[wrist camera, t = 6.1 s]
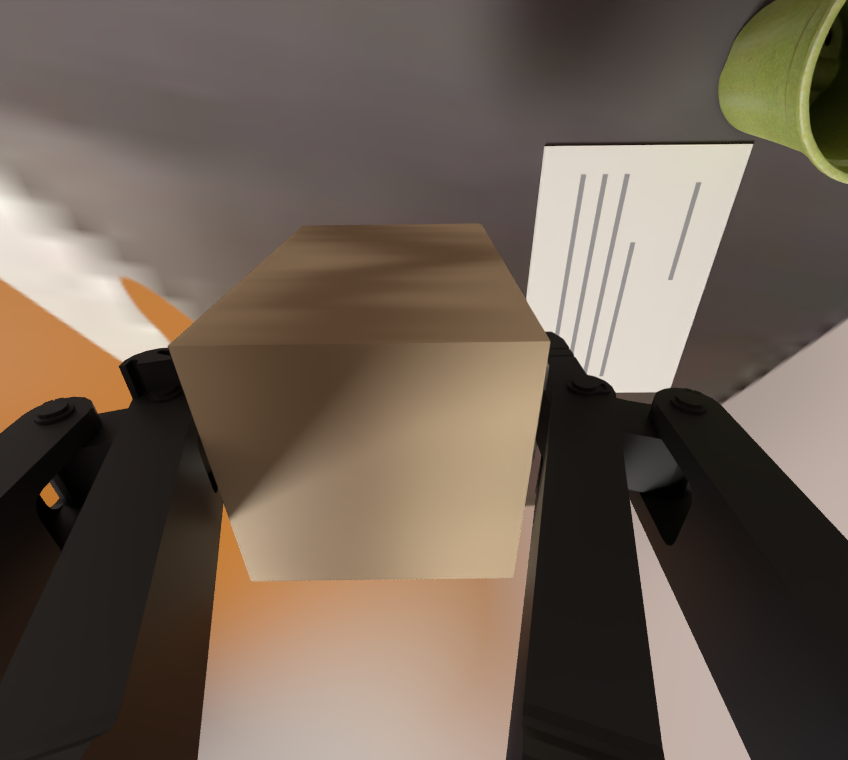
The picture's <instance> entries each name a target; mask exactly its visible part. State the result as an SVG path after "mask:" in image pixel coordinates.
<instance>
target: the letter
mask: <svg viewBox="0 0 848 760" xmlns="http://www.w3.org/2000/svg"><path fill="white" fill-rule="evenodd" d="M752 147H753V144H697V145H606V146H544V153H543V161H542V170H541V178H540V187H539V195H538V203H537V212H536V220H535V228H534V237H533V245H532V254H531V262H530V270H529V279H528V287H527V296H526V301H527V302H528V304H529V306H530V307H531V309H532V311H533V312H534V314H535V316H536V318H537V319H538V321H539V323H540V324H541V326H542V328H543V329H544V331H545V332H553V333H555V334H556V335H558V336H560V337H561V338H563V339H564V340H565V342H566V343H567V345H568V346H569V349H571V351H572V353H573V354H574V357H576V359H577V360H578V362H579V363H580V365H581V366H582V368H583V369H584V371H585V372H586V374H587V375H591V376H595V377H598V378H600V379H602V380H604V381H606V382H607V383H609V384H610V385H611V386H612V387H613V389H614V391H615V392H658V391H660V390H662V389H666V388H670V387H671V385H672V382H673V379H674V376H675V373H676V370H677V367H678V364H679V361H680V358H681V355H682V352H683V349H684V346H685V343H686V340H687V338H688V335H689V332H690V329H691V326H692V323H693V320H694V317H695V314H696V311H697V308H698V305H699V302H700V299H701V296H702V293H703V291H704V288H705V285H706V282H707V279H708V276H709V273H710V270H711V267H712V264H713V261H714V258H715V255H716V252H717V249H718V246H719V244H720V241H721V238H722V235H723V232H724V229H725V226H726V223H727V220H728V217H729V214H730V211H731V208H732V205H733V202H734V199H735V197H736V194H737V191H738V188H739V185H740V182H741V179H742V176H743V173H744V170H745V167H746V164H747V161H748V158H749V155H750V153H751V150H752Z"/></svg>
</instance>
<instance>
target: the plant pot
mask: <svg viewBox="0 0 848 760" xmlns="http://www.w3.org/2000/svg"><path fill="white" fill-rule="evenodd" d="M829 30H831V36H832V39H831V41H830V44H829V45H828V46H825V42H824V41H825V39H826V36H827V34H828V32H829ZM718 94H719V103H720V108H721V110H722V112H723V115H724V116H725V118H726V119H727V121H728V122H729V123H730V124H731V125H732V126H733V127H735V128H736V129H738V130H740V131H742V132H745V133H748V134H751V135H754V136H757V137H760V138H763V139H767V140H770V141H773V142H776V143H779V144H782V145H784V146H787V147H790V148H792V149H795V150H798V151H800V152H803V153H804V154H805V155H806V156H807V157H808V158H809V159H810V161H811V162H812V163H813V164H814V165H815V166H816V167H817V168H818V169H819V170H820V171H821V172H822V173H824V174H826V175H827V176H829V177H830V178H832V179H835V180H837V181H840V182H843V183H846V184H848V0H776V1H774V2H772V3H770V4H769V5H767V6H766V7H765V8H763V9H762V10H761V11H759V12H758V13H757V14H756V15H755V16H754V17H753V18H752V19H751V20H750V21H749V22H748V23H747V24H746V25H745V26H744V28H743V29H742V30H741V32H740V33H739V34H738V36H737V37H736V39H735V41H734V42H733V45H732V48H731V51H730V53H729V55H728V58H727V61H726V64H725V66H724V68H723V71H722V73H721V75H720V79H719V86H718Z"/></svg>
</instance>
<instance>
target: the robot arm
mask: <svg viewBox="0 0 848 760" xmlns="http://www.w3.org/2000/svg"><path fill="white" fill-rule="evenodd" d="M545 333H546V334H547V336H548V338H549V340H550V341H551V342H550V348H549V354H548V361H547V367H546V373H545V380H544V386H543V392H542V399H541V405H540V411H539V418H538V424H537V431H536V437H535V443H534V450H533V456H532V461H534V459H535V452H536V446H537V444H538V447H539V450H540V453H541V461H540V467H539V473H538V479H537V485H536V490H535V493H536V501H535V510H534V519H533V527H532V536H531V545H530V553H529V562H528V571H527V581H526V589H525V597H524V607H523V615H522V624H521V633H520V641H519V650H518V659H517V668H516V676H515V686H514V694H513V703H512V711H511V720H510V729H509V738H508V748H507V756H506V760H665V758H664V753H663V748H662V741H661V732H660V726H659V718H658V710H657V703H656V695H655V688H654V680H653V672H652V666H651V657H650V650H649V642H648V635H647V627H646V619H645V612H644V604H643V597H642V589H641V582H640V575H639V567H638V560H637V552H636V545H635V537H634V529H633V523H632V514H631V507H630V500H631V503H632V505H633V507H634V509H635V511H636V513H637V515H638V517H639V520H640V522H641V524H642V526H643V528H644V531H645V532H646V534H647V537H648V539H649V541H650V543H651V545H652V548H653V550H654V552H655V554H656V556H657V558H658V560H659V563H660V565H661V567H662V569H663V571H664V573H665V576H666V578H667V580H668V582H669V584H670V586H671V589H672V591H673V593H674V595H675V597H676V599H677V601H678V604H679V606H680V608H681V610H682V612H683V614H684V616H685V619H686V621H687V623H688V625H689V627H690V629H691V632H692V634H693V636H694V638H695V640H696V642H697V644H698V647H699V649H700V651H701V653H702V655H703V657H704V659H705V662H706V664H707V666H708V668H709V670H710V672H711V675H712V677H713V679H714V681H715V683H716V685H717V687H718V690H719V692H720V694H721V696H722V698H723V700H724V703H725V705H726V707H727V709H728V711H729V713H730V715H731V718H732V720H733V722H734V724H735V726H736V728H737V730H738V733H739V735H740V737H741V739H742V741H743V743H744V746H745V748H746V750H747V752H748V754H749V756H750V758H751V760H848V540H847V539H846V538H845V537H844V536H843V535H842V534H841V533H840V531H838V529H837V528H836V527H835V526H834V525H833V524H832V523H831V522H830V521H829V520H828V519H827V518H826V517H825V516H824V514H823V513H822V512H821V511H820V510H819V509H818V508H817V507H816V506H815V505H814V504H813V503H812V502H811V501H810V499H809V498H808V497H807V496H806V495H805V494H804V493H803V492H802V491H801V490H800V489H799V488H798V487H797V486H796V485H795V484H794V482H793V481H792V480H791V479H790V478H789V477H788V476H787V475H786V474H785V473H784V472H783V471H782V470H781V469H780V468H779V467H778V465H777V464H776V463H775V462H774V461H773V460H772V459H771V458H770V457H769V456H768V455H767V454H766V453H765V452H764V450H763V449H762V448H761V447H760V446H759V445H758V444H757V443H756V442H755V441H754V440H753V439H752V438H751V437H750V436H749V435H748V433H747V432H746V431H745V430H744V429H743V428H742V427H741V426H740V425H739V424H738V423H737V422H736V421H735V420H734V418H732V416H731V415H730V414H729V413H728V412H727V411H726V410H725V409H724V408H723V407H722V406H721V405H720V404H719V403H718V402H716V401H715V400H714V399H712V398H710V397H708V396H706V395H704V394H702V393H701V392H698V391H695V390H694V391H692V390H691V389H687V388H684V389H682V388H666V389H662V390H660V391H658V392H657V393H656V394H655V396H654V399H653V402H652V405H651V404H645V403H639V402H633V401H627V400H623V399H619V398H616V393H615V391H614V389H613V387H612V386H611V385H610V384H609V383H607V382H606V381H604V380H602V379H600V378H598V377H595V376H591V375H587V374H586V372H585V371H584V369H583V368H582V366H581V365H580V363H579V362H578V360H577V359H576V357H574V354H573V353H572V351H571V349H569V346H568V345H567V343H566V342H565V340H564V339H563V338H561V337H560V336H558V335H556V334H555V333H553V332H545ZM119 368H120V370H121V373H122V375H123V377H124V380H125V382H126V384H127V387H128V389H129V391H130V393H131V396H132V398H133V400H132V402H131V404H130V406H129V408H128V409H122V410H116V411H111V412H105V413H100V414H98V413H97V411H96V409H95V407H94V405H93V403H92V401H91V400H89V399H87V398H85V397H70V398H59V399H55V401H53V400H51V401H48V402H45V403H44V404H43V405H41V406H38V407H36V408H34V409H32V410H30V411H29V412H27V413H26V414H24V415H23V416H21V417H20V418H19V419H18V420H16V421H15V422H14V423H13V424H11V425H10V426H9V427H8V428H6V429H5V430H4V431H3V432H2V433H0V760H197V759H198V749H199V739H200V729H201V718H202V709H203V700H204V690H205V680H206V670H207V660H208V649H209V639H210V630H211V620H212V610H213V600H214V590H215V580H216V570H217V561H218V551H219V540H220V531H221V521H222V511H223V500H222V498H221V495H220V492H219V489H218V486H217V483H216V481H215V478H214V475H213V472H212V469H211V467H210V464H209V461H208V458H207V455H206V453H205V450H204V447H203V444H202V441H201V438H200V436H199V433H198V430H197V427H196V424H195V422H194V419H193V416H192V413H191V410H190V407H189V405H188V402H187V399H186V396H185V393H184V391H183V388H182V385H181V382H180V379H179V377H178V374H177V371H176V368H175V365H174V362H173V360H172V357H171V354H170V351H169V348H159V349H154V350H149V351H145V352H142V353H139V354H137V355H134V356H132V357H130V358H128V359H127V360H125V361H124V362H123V363H122V364H121V365H120V366H119ZM49 482H50V484H51V485H52V487H53V488H54V490H55V492H56V493H57V495H58V496H59V500H58V501H57V502H56V503H55V504H54V505H53V506H52V507H48V506H47V505H46V504H45V502H44V501H43V499H42V498H41V496H40V493H41V491H42V490H43V488H44V487H45V486H46V485H47V484H48V483H49ZM629 498H630V499H629Z"/></svg>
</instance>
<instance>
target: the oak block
mask: <svg viewBox="0 0 848 760" xmlns="http://www.w3.org/2000/svg"><path fill="white" fill-rule="evenodd" d="M550 342H551V341H550V340H549V338H548V336H547V334H546V333H545V331H544V329H543V328H542V326H541V324H540V323H539V321H538V319H537V318H536V316H535V314H534V312H533V311H532V309H531V307H530V306H529V304H528V302H527V301H526V299H525V297H524V296H523V294H522V292H521V290H520V289H519V287H518V285H517V284H516V282H515V280H514V279H513V277H512V275H511V273H510V272H509V270H508V268H507V267H506V265H505V263H504V262H503V260H502V258H501V257H500V255H499V253H498V251H497V250H496V248H495V246H494V245H493V243H492V241H491V240H490V238H489V236H488V235H487V233H486V231H485V229H484V228H483V226H482V224H407V225H324V226H302V227H301V228H299V229H298V230H297V231H296V232H295V233H294V234H293V235H292V236H291V237H289V238H288V239H287V240H286V241H285V242H284V243H283V244H282V245H280V246H279V247H278V248H277V249H276V250H275V251H274V252H273V253H271V254H270V255H269V256H268V257H267V258H266V259H265V260H264V261H262V262H261V263H260V264H259V265H258V266H257V267H256V268H255V269H254V270H252V271H251V272H250V273H249V274H248V275H247V276H246V277H245V278H243V279H242V280H241V281H240V282H239V283H238V284H237V285H236V286H234V287H233V288H232V289H231V290H230V291H229V292H228V293H227V294H226V295H224V296H223V297H222V298H221V299H220V300H219V301H218V302H217V303H215V304H214V305H213V306H212V307H211V308H210V309H209V310H208V311H206V312H205V313H204V314H203V315H202V316H201V317H200V318H199V319H197V320H196V321H195V322H194V323H193V324H192V325H191V326H190V327H189V328H187V329H186V330H185V331H184V332H183V333H182V334H181V335H180V336H179V337H177V338H176V339H175V340H174V341H173V342H172V343H171V344H169V345H168V348H169V351H170V354H171V357H172V360H173V362H174V365H175V368H176V371H177V374H178V377H179V379H180V382H181V385H182V388H183V391H184V393H185V396H186V399H187V402H188V405H189V407H190V410H191V413H192V416H193V419H194V422H195V424H196V427H197V430H198V433H199V436H200V438H201V441H202V444H203V447H204V450H205V453H206V455H207V458H208V461H209V464H210V467H211V469H212V472H213V475H214V478H215V481H216V483H217V486H218V489H219V492H220V495H221V498H222V500H223V503H224V506H225V508H226V512H227V514H228V517H229V520H230V523H231V525H232V528H233V531H234V534H235V537H236V540H237V543H238V545H239V548H240V551H241V554H242V557H243V559H244V562H245V565H246V568H247V570H248V573H249V576H250V579H251V581H305V580H373V579H374V580H378V579H379V580H380V579H455V578H456V579H460V578H513V577H514V570H515V564H516V557H517V551H518V545H519V538H520V532H521V526H522V519H523V513H524V507H525V500H526V494H527V488H528V481H529V475H530V469H531V462H532V456H533V450H534V443H535V437H536V431H537V424H538V418H539V411H540V405H541V399H542V392H543V386H544V380H545V373H546V367H547V361H548V354H549V348H550Z"/></svg>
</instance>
